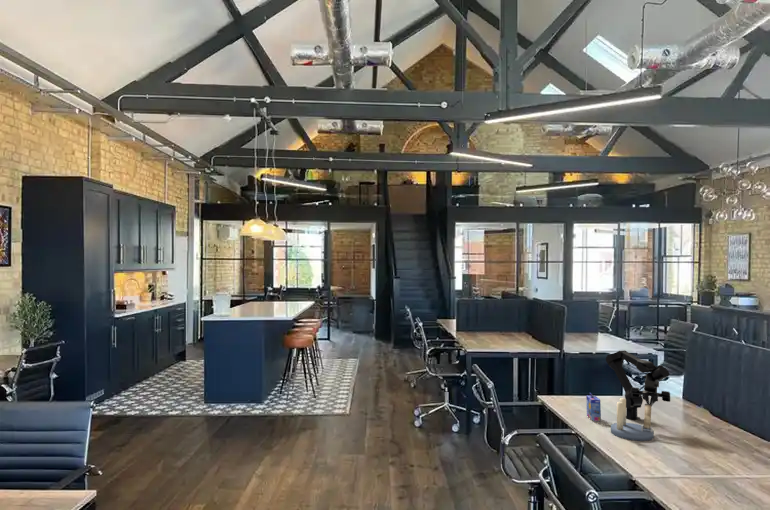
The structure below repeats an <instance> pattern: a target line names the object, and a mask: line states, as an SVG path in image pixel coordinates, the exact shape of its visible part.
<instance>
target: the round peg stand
mask: <svg viewBox="0 0 770 510" xmlns="http://www.w3.org/2000/svg"><path fill="white" fill-rule="evenodd" d="M643 426H644V424H637V423H633V422H632V423H631V422H627V418H626V399H625V397H620V398H619V401H617V402H616V422H615V423H612V424H611V425H610V433H611V434H612V435H613V436H615V437H618V438H621V439H625V440H629V441H636V440H637V441H638V442H640V441H641V442H647V441H651V440H653V439H655V438H654V437H655V435H654V434H655V433H654V432H655V430H653V429H654V428H653V425H650V427H651V430H649V429H643ZM637 441H636V442H637Z"/></svg>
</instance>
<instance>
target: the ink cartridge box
mask: <svg viewBox="0 0 770 510" xmlns="http://www.w3.org/2000/svg"><path fill="white" fill-rule="evenodd" d="M585 398H586V417H587V416H588V417H589V418H590V419H591V420H593V421H592V422H602V413H601V412H602V410H601V405H602V404H601V399H600V398H598V397H597V396H596V395H593V393H591V392H589V395H588V394H587V395H586V397H585ZM588 417H587V418H588ZM589 418H588V419H589ZM590 419H589V420H590ZM591 420H590V421H591Z"/></svg>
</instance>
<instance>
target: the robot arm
mask: <svg viewBox="0 0 770 510" xmlns="http://www.w3.org/2000/svg"><path fill="white" fill-rule="evenodd" d="M623 361H626V362H627V363H630V364H631V365H633V366H635V367H636V370H638V371H639V372H640V373H645V375H644V376H643V378H644V379H645V380H644V385H643V389H642V390H640V388H639V387H633V385H632V383H631V381H630V379H629V377H628V375H627V373H626V371H625V369H624V367H623V363H624V362H623ZM605 362H606V364H607V365H608V367H609V368H611V369H612V370H614V373H615V374H616V376H617V379H618V380H619V383H620V384H621V387H622V388H623V391H624V399H626V419H629V420H634V421H635V420H636V421H637V420H639V419H641V417H640V416H638V408H640V409H641V407H642V405H643V402H644V400H645V404H651V405H652V406H653V405H654V404H655V403H656V402H659V398H661V401H663V402H667V403H668V402H669V403H670V402H671V393H670V391H667V390H666V391H665V390H661V392H658V390H657V389H658V388H660V382H661V381H663V380H664V379H666V378H668V377H669V376H670V372H669V370H668V369H667V368H666V367H664V366H663V365H662V364H659V365H658V366H656V365H655V364H654V363H653V362H652V361H649V360H646V359H645V360H644V359H641V358H639V357H638V356H636V355H633V354H631V353H630V352H628V351H626V350H618V351H616V352H614V353H611V354H608V355H607V356H606V358H605ZM649 397H650V398H649Z"/></svg>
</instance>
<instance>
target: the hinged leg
mask: <svg viewBox="0 0 770 510" xmlns="http://www.w3.org/2000/svg"><path fill="white" fill-rule="evenodd" d="M652 406H653V405H651V404H650V403H649V404H647V403H645V404H644V413H643V414H644V415H643V416H644V417H643V429H649V430H651V426H652V425H651V422H652V421H651V420H652Z"/></svg>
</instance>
